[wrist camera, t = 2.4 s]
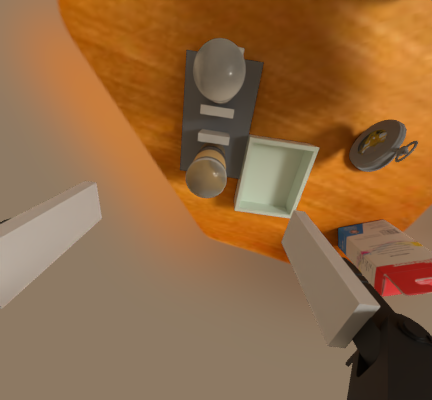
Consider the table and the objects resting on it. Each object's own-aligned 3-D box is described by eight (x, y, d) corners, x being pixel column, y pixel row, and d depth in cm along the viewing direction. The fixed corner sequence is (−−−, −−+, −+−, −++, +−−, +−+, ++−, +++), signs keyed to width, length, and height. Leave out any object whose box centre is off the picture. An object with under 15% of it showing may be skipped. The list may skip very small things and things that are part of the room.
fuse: (208, 67, 24) (195, 33, 13) (238, 72, 24) (251, 43, 13) (204, 102, 26) (191, 97, 15) (233, 106, 26) (240, 105, 15)
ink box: (336, 246, 38) (396, 318, 25) (337, 226, 36) (402, 294, 23) (382, 238, 37) (470, 310, 24) (385, 218, 35) (483, 284, 22)
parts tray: (247, 134, 29) (250, 137, 26) (309, 143, 29) (319, 147, 26) (233, 201, 34) (234, 210, 31) (285, 208, 35) (292, 218, 31)
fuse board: (188, 53, 25) (177, 35, 19) (261, 65, 25) (273, 51, 19) (181, 167, 32) (172, 180, 26) (238, 175, 32) (242, 190, 26)
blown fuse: (201, 138, 28) (187, 156, 17) (227, 142, 28) (229, 162, 17) (198, 164, 30) (184, 195, 19) (223, 167, 30) (223, 200, 19)
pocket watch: (388, 167, 30) (456, 191, 22) (335, 173, 31) (379, 199, 22) (403, 113, 27) (493, 115, 18) (343, 121, 28) (399, 127, 19)
